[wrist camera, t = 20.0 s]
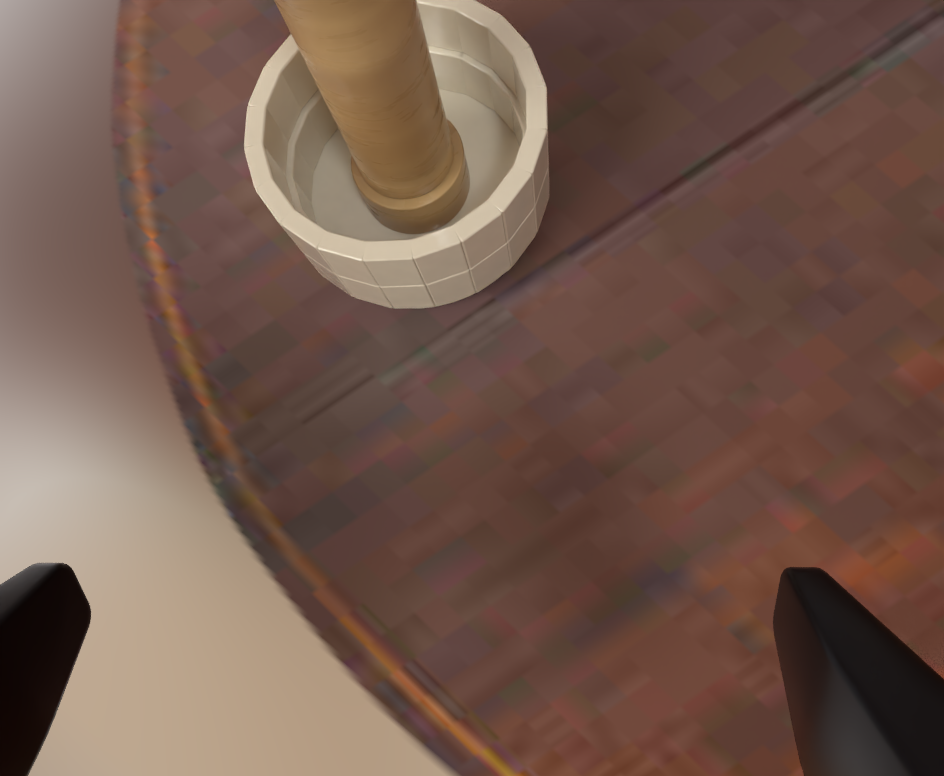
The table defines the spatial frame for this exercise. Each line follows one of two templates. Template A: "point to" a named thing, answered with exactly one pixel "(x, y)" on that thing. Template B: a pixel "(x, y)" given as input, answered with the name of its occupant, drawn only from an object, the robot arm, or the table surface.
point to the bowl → (485, 145)
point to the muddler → (385, 106)
